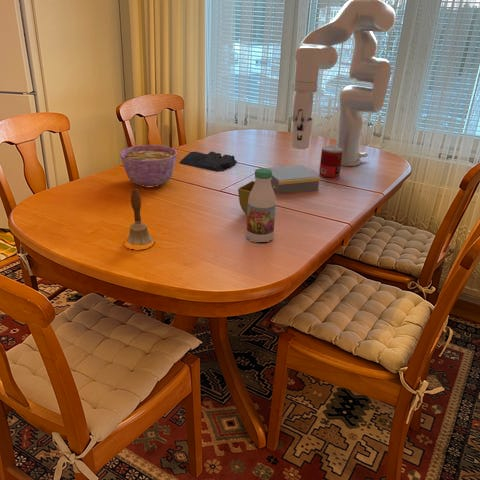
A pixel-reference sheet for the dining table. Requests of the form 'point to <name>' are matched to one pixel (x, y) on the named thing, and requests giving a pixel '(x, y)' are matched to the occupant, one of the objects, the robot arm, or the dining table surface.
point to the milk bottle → (261, 208)
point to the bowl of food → (149, 164)
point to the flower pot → (246, 195)
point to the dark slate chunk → (209, 161)
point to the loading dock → (293, 179)
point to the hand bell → (138, 223)
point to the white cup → (305, 134)
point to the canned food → (330, 162)
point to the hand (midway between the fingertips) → (300, 140)
